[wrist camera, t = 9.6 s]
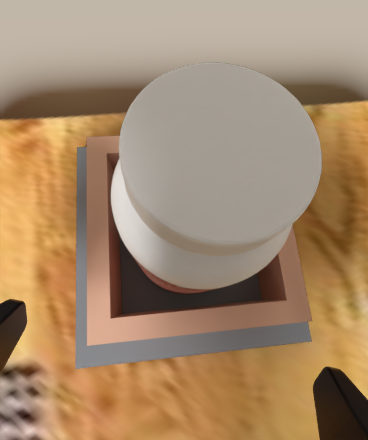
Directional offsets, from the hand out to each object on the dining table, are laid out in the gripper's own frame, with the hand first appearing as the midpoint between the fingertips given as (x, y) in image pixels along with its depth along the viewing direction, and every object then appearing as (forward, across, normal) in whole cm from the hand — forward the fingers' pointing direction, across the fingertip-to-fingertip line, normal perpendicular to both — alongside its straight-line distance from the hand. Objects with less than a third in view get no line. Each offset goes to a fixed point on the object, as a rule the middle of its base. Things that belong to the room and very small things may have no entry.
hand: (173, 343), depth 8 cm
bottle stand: (+10, 0, +2) cm, 10 cm away
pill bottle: (+9, 0, +2) cm, 9 cm away
